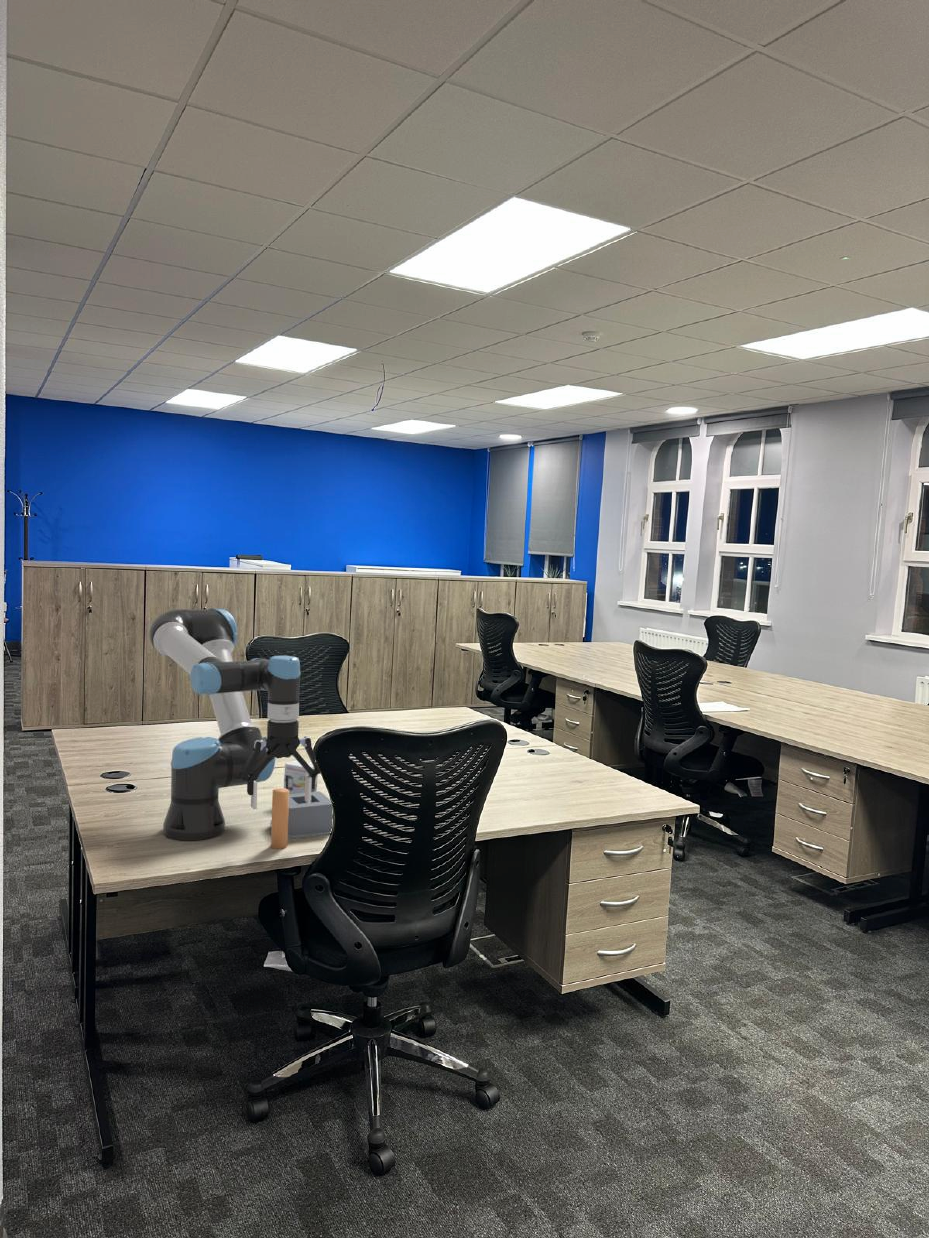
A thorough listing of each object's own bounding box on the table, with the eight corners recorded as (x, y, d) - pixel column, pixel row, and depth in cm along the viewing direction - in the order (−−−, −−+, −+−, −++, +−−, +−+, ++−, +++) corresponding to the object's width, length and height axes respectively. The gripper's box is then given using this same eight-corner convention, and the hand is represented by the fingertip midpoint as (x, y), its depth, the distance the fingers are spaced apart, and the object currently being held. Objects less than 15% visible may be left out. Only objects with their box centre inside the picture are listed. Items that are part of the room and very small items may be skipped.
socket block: (286, 839, 222) (287, 809, 221) (271, 822, 234) (271, 794, 234) (338, 832, 229) (339, 804, 228) (321, 816, 241) (322, 789, 240)
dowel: (273, 849, 214) (275, 793, 213) (269, 844, 218) (270, 789, 217) (289, 847, 216) (291, 792, 215) (284, 842, 220) (286, 787, 218)
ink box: (281, 803, 251) (283, 763, 250) (292, 799, 255) (293, 759, 254) (307, 809, 247) (308, 768, 246) (317, 804, 252) (318, 764, 251)
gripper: (235, 725, 205) (233, 814, 207) (336, 719, 217) (334, 803, 218) (228, 719, 212) (226, 805, 213) (326, 714, 223) (324, 795, 225)
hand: (281, 804), depth 216 cm, fingers open, 13 cm apart
